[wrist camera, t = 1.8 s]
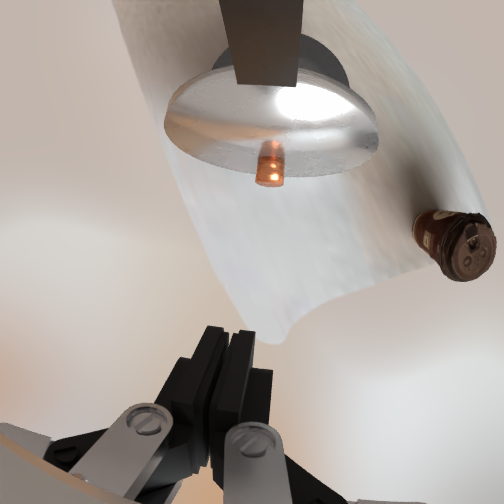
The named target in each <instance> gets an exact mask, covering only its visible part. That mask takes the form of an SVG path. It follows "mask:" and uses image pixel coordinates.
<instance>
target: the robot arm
mask: <svg viewBox="0 0 504 504" xmlns="http://www.w3.org/2000/svg"><path fill="white" fill-rule="evenodd" d="M254 344H255V331H246V330H240V331H239V334H237V333H233V336H232V338H231V342H230V345H229V333H228V332H224V328H222V327H215V326H207V328H206V330H205V332H204V334H203V336H202V337H201V340H200V342H199V344H198V346H197V348H196V350H195V352H194V354H193V356H192V358H191V359H189V358H183V357H180V358H179V359H178V361H177V362H176V364H175V366H174V368H173V370H172V372H171V373H170V375H169V377H168V379H167V381H166V382H165V384H164V386H163V388H162V390H161V391H160V393H159V395H158V397H157V399H156V400H155V402H154V403H140V404H136V405H133V406H131V407H129V408H128V409H127V410H125V411H124V412H123V413H122V415H121V416H120V417H119V418H118V419H117V420H116V421H115V422H114V423H113V424H112V425H111V427H110V428H107V429H102V430H99V431H94V432H90V433H86V434H82V435H77V436H73V437H68V438H63V439H60V440H57V441H53V440H52V438H51V437H48V436H45V435H41V434H38V433H35V432H32V431H28V430H25V429H23V428H20V427H17V426H14V425H11V424H8V423H0V504H171V503H172V501H173V499H174V497H175V496H176V494H177V492H178V490H179V489H180V487H181V485H182V482H183V479H184V478H187V477H189V476H192V474H193V473H194V474H198V473H199V469H200V466H203V467H206V466H207V463H208V460H209V456H210V461H211V468H213V480H214V481H215V482H216V484H217V485H218V486H219V487H220V488H221V489H222V490H223V491H224V495H223V504H426V503H421V502H388V501H371V500H360V499H358V500H357V502H352V501H346V500H345V499H344V498H343V497H342V496H341V495H339V494H338V493H336V492H335V491H333V490H331V489H330V488H329V487H327V486H326V485H325V484H323V483H322V482H321V481H319V480H318V479H316V478H315V477H314V476H312V475H311V474H310V473H308V472H307V471H306V470H305V469H303V468H302V467H301V466H299V465H298V464H297V463H295V462H294V461H293V460H291V459H290V458H289V457H288V456H287V455H285V454H284V449H283V443H282V439H281V436H280V435H279V433H278V432H277V431H276V430H275V429H274V428H272V427H271V426H269V425H268V424H269V412H270V402H271V390H272V378H273V377H272V376H273V370H268V369H258V368H252V365H253V354H254Z"/></svg>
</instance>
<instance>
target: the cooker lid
mask: <svg viewBox="0 0 504 504" xmlns="http://www.w3.org/2000/svg"><path fill="white" fill-rule="evenodd" d="M219 3H220V7H221V12H222V16H223V21H224V25H225V29H226V34H227V38H228V43H229V48H230V52H231V57H232V61H233V65H232V66H227V67H223V68H218V69H214V70H211V71H209V72H206V73H203V74H200V75H198V76H197V77H195V78H193V79H191V80H189V81H188V82H186V83H185V84H183V85H182V86H181V87H180V88H179V89H178V90H177V91H176V92H175V93H174V94H173V96H172V97H171V99H170V101H169V104H168V108H167V112H166V116H165V120H164V128H165V131H166V134H167V136H168V137H169V139H170V140H171V141H172V142H173V143H174V144H175V145H176V146H177V147H178V148H179V149H181V150H182V151H184V152H185V153H187V154H189V155H191V156H193V157H195V158H197V159H199V160H202V161H204V162H207V163H210V164H212V165H216V166H219V167H222V168H226V169H230V170H235V171H239V172H245V173H251V174H256V180H255V182H256V183H257V184H259V185H261V186H266V187H280V186H282V185H283V181H284V177H314V176H324V175H331V174H336V173H341V172H344V171H348V170H351V169H353V168H356V167H358V166H360V165H362V164H364V163H365V162H367V161H368V160H369V159H370V158H371V157H372V156H373V155H374V154H375V152H376V150H377V147H378V125H377V120H376V117H375V114H374V112H373V111H372V109H371V107H370V106H369V105H368V104H367V103H366V101H365V100H364V99H363V98H362V97H361V96H359V95H358V94H357V93H356V92H354V91H353V90H352V89H350V88H349V87H347V86H345V85H344V84H342V83H340V82H338V81H336V80H334V79H332V78H330V77H328V76H325V75H322V74H319V73H316V72H313V71H310V70H307V69H302V68H298V64H299V52H300V40H301V27H302V14H303V0H219Z"/></svg>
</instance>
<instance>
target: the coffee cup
mask: <svg viewBox="0 0 504 504" xmlns="http://www.w3.org/2000/svg"><path fill="white" fill-rule="evenodd" d="M412 233H413V238H414V240H415V242H416V243H417V244H418V246H419V247H420V248H422V249H423V250H424V251H425V252H426V253H427V254H428V255H430V257H431V258H432V259H433V260H435V261H436V262H437V264H438V265H439V266H440V268H441V270H442V272H443V274H444V275H445V276H447V277H448V278H449V279H451V280H453V281H459V282H467V281H471V280H474V279H477V278H478V277H479V276H480V275H482V274H483V273H484V272H486V271H487V270H488V269H489V267H490V266H491V264H492V263H493V260H494V258H495V254H496V243H497V242H496V237H495V236H494V233H493V231H492V228H491V226H490V224H489V222H488V221H487V219H486V218H485V217H484V216H483V215H481V214H480V213H478V214H477V213H476V214H475V213H473V214H472V213H469V214H467V213H462V212H452V211H445V210H441V211H438V210H428V211H425V212H422V213H421V214H420V215H419V216H418V217H417V218H416V220H415V223H414V225H413V231H412Z"/></svg>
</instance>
